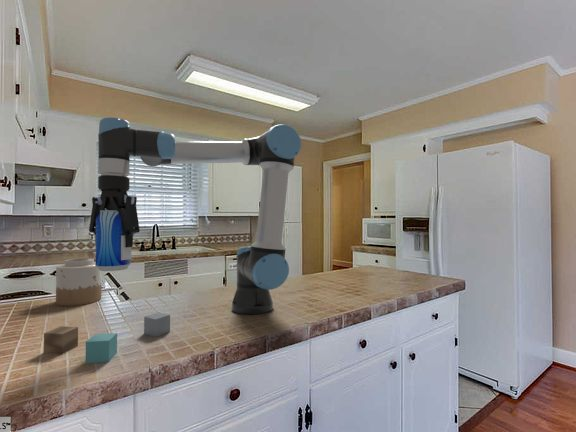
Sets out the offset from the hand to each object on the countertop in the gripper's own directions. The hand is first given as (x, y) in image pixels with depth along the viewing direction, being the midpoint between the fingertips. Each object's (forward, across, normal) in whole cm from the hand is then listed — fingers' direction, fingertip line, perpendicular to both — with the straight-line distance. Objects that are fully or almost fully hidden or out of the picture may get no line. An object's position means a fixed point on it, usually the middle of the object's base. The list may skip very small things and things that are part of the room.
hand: (113, 258), depth 86 cm
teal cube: (+22, -7, +9) cm, 25 cm away
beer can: (+3, 0, 0) cm, 3 cm away
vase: (+22, +48, -26) cm, 59 cm away
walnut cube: (+22, +7, +9) cm, 25 cm away
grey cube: (+22, -7, -9) cm, 25 cm away
